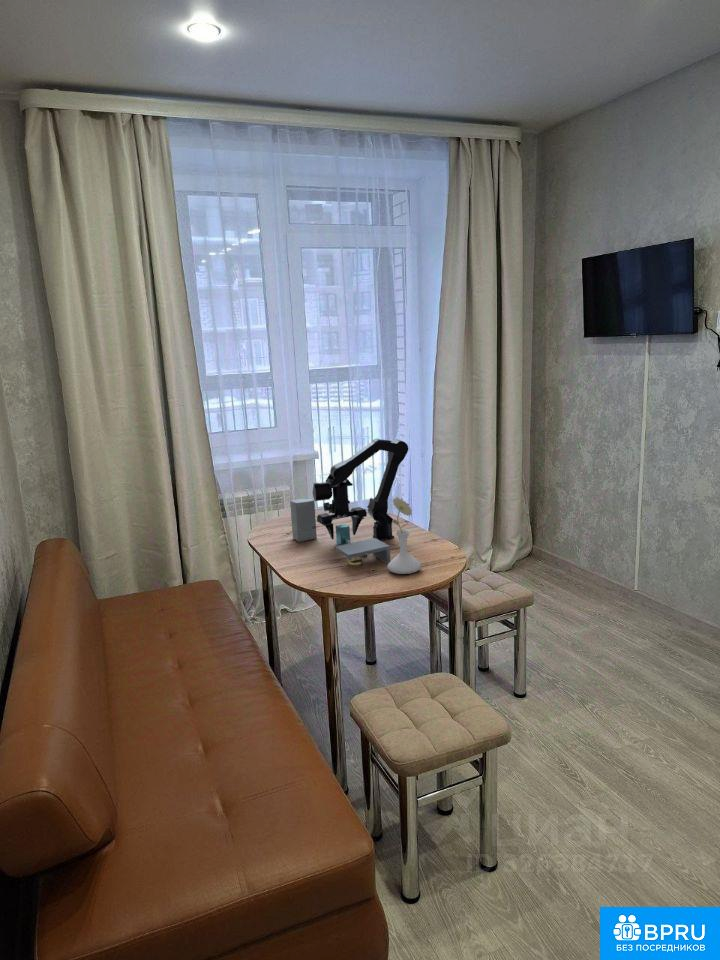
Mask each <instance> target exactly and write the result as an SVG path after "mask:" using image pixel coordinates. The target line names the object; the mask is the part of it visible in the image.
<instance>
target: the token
mask: <svg viewBox="0 0 720 960" xmlns="http://www.w3.org/2000/svg"><path fill="white" fill-rule="evenodd" d="M347 559H348V560H347V563H348V564H347V566H348V567H349V568H360V567H362V566H363V558H361V557H352V558H347Z"/></svg>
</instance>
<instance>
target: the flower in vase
mask: <svg viewBox="0 0 720 960" xmlns="http://www.w3.org/2000/svg"><path fill="white" fill-rule="evenodd" d="M392 504H393V506H395V509H397V510H398V513H397V517H396V518H393V521H392V524H395V525H397V526H398V527H399V529H398V530H396V531H395V535H396V536H397V537H398V541H399V553H398V554H397V555H395V557H394V558H392V559H390V562H389V563H387V569H388V570H389V571H390V572H391V573H393V574H398V575H410V574H413V573H416V572H418V571H419V570H420V569H422V564H421V562H420V561H419V560H418V559H417V558H415V557H414V556H413V555H411V554H410V553H409V551H408V548H407V546H408V545H407V544H408V537H409V535H410V533H411V531H410V530H409V529H403V528H404V527H406V525H408V523H409V522H407V523H405V524H402V525H401V526H400V523H399V518H400V513H401V514H403V515H404V516H408V517H409V516H411V515H413V514H412V512H413V510H412V508H411V506H410V504H409V503H408V502H406V501H405V500H404V498H400V497H398V496H396V497H395V498H393V499H392ZM396 519H397V520H396ZM389 571H388V572H389Z"/></svg>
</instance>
